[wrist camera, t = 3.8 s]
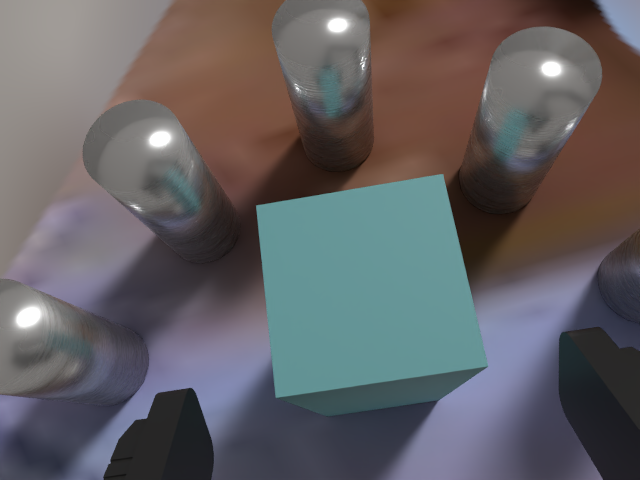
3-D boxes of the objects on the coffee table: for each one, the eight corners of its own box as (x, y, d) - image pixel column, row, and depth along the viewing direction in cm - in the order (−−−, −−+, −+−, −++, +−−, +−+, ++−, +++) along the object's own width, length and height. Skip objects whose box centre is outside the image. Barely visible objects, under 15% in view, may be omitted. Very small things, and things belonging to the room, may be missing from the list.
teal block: (417, 291, 21) (442, 173, 12) (438, 400, 20) (488, 366, 10) (312, 307, 21) (256, 205, 12) (327, 416, 20) (276, 397, 10)
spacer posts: (602, 61, 23) (688, -85, 17) (699, 317, 20) (857, 257, 13) (77, 154, 25) (-33, 52, 18) (72, 411, 21) (-71, 399, 14)
